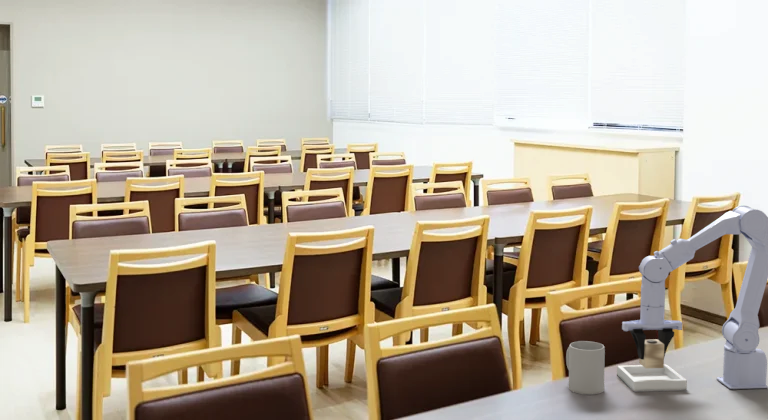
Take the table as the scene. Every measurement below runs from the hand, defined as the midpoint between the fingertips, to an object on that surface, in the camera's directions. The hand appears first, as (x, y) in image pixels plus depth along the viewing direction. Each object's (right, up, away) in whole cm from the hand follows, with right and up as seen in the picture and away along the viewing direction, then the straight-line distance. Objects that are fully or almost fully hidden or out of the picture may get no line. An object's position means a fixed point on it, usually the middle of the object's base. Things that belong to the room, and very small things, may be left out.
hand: (651, 358), depth 209 cm
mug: (-18, -7, -2) cm, 19 cm away
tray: (0, -6, +1) cm, 6 cm away
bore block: (0, -2, 0) cm, 2 cm away
